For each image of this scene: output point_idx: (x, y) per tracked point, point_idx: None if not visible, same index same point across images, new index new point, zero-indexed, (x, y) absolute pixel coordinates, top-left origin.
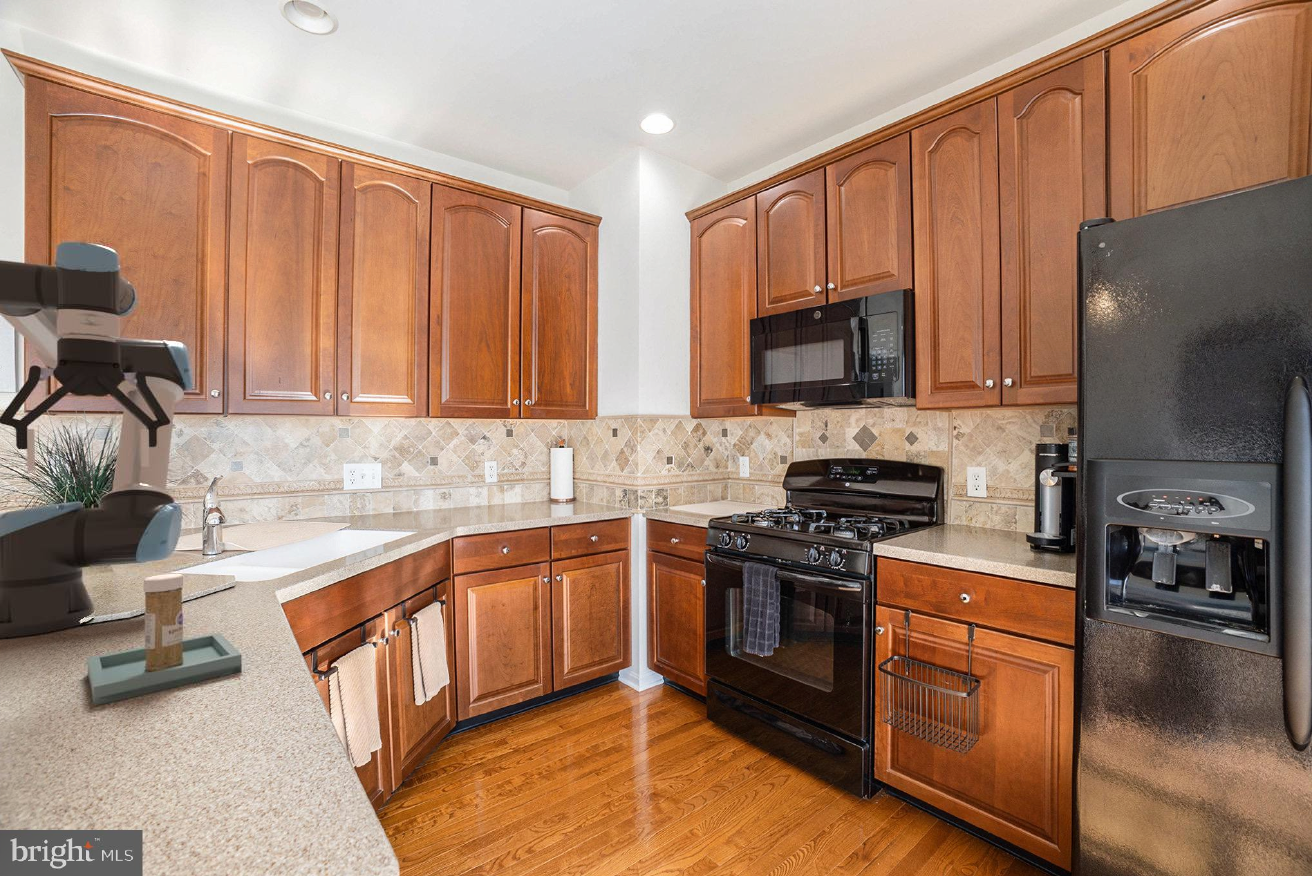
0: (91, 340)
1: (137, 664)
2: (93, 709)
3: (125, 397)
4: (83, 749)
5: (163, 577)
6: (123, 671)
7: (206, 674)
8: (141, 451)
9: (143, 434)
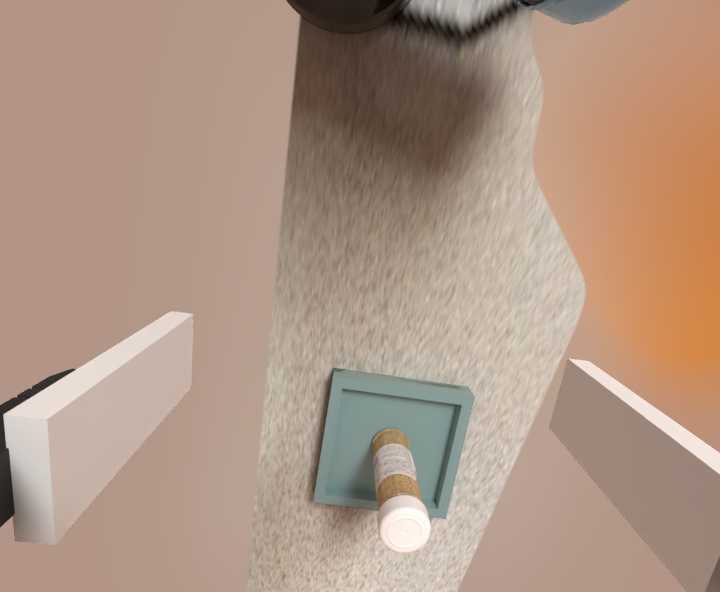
0: None
1: (374, 407)
2: (313, 494)
3: None
4: (288, 582)
5: (401, 542)
6: (356, 422)
7: None
8: (608, 418)
9: (667, 565)
